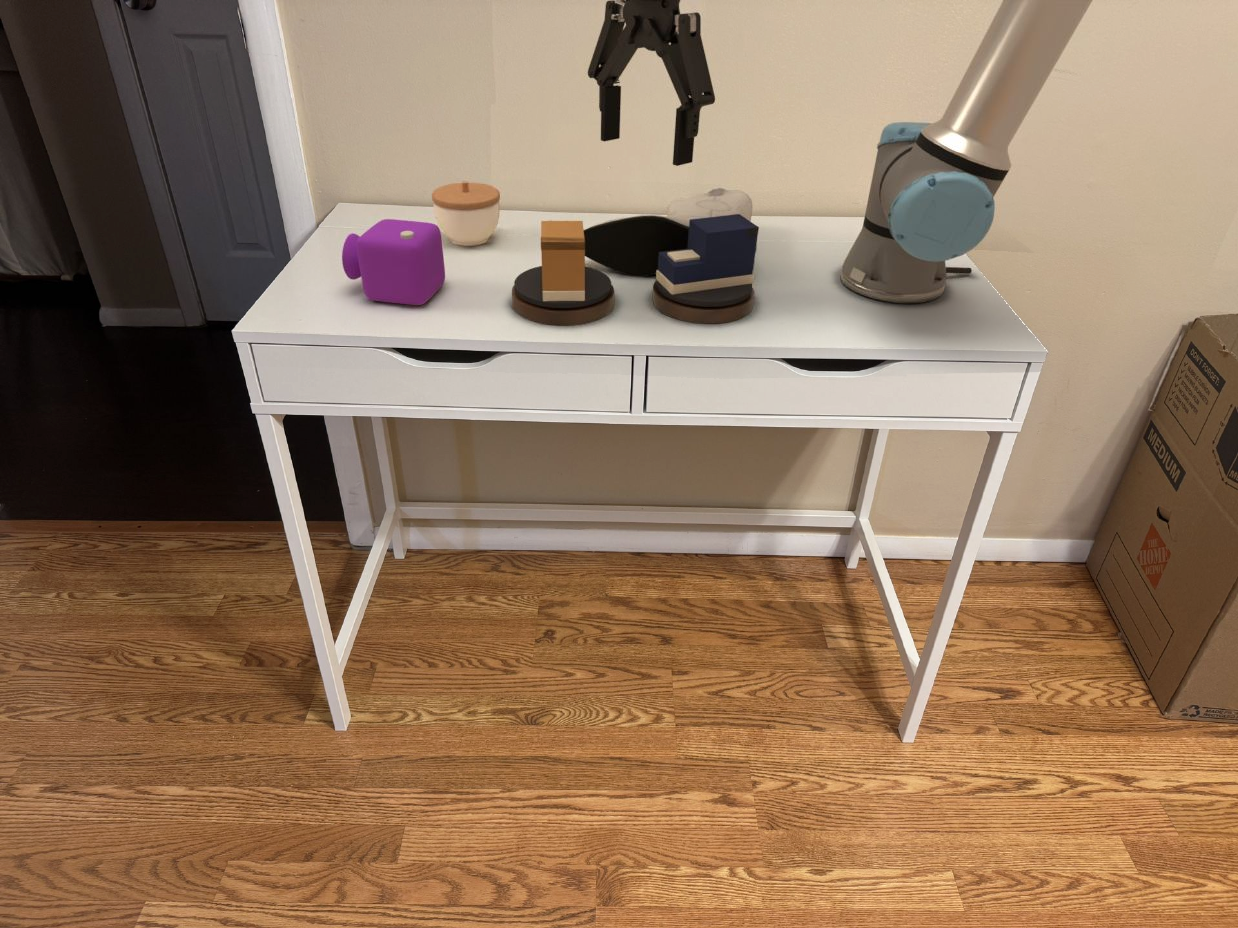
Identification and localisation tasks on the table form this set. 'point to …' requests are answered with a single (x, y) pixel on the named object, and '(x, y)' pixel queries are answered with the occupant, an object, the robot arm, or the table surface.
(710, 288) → the navy and black piece
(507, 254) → the table surface
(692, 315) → the turntable base
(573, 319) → the turntable base
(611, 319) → the table surface
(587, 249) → the cowboy boot
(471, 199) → the trinket box
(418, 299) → the toy camera
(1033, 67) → the robot arm
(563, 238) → the tan sneaker
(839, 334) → the table surface
